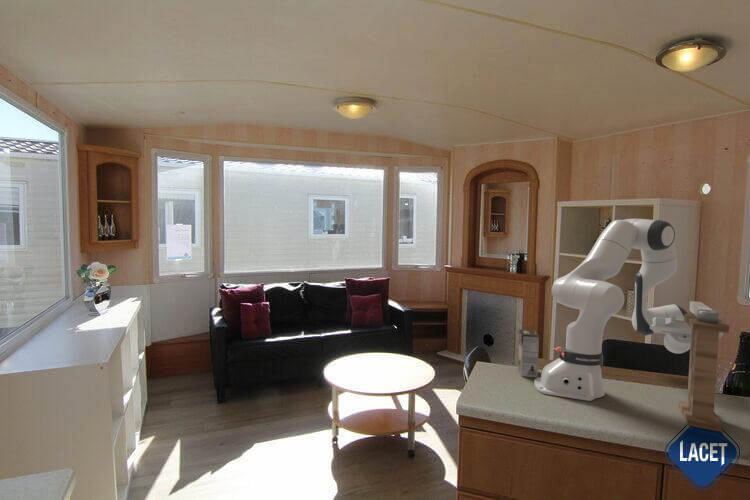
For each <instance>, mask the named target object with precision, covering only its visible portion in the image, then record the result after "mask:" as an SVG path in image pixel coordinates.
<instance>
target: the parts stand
mask: <svg viewBox="0 0 750 500" xmlns="http://www.w3.org/2000/svg"><path fill="white" fill-rule="evenodd" d="M684 320H685V322H686V323H687V324H688V325H689V326H690V327H691V328H692V329H691V346H690V349H689V362H688V363H689V364H688V365H689V366H688V382H687V383H688V384H687V398H686V401H683V400H682V401H681V400H680V401H678V403H679V404H678V408H679V410H680V413H681V415H682V417H683V419H684V421H685V423H686V425H687V427H688V426H689V427H692V428H700V429H705V430H709V431H716V432H719V433H720V432H721V433H723V427H724V426H723V423H722V421H721V420H720V418H719V416H717V414H716V412H715V401H716V384H717V369H718V368H717V367H718V355H719V352H718V351H719V339H720V338H719V332H722V333H724V334H729V332H730V326H729V325H728V324H727V323H726V322H725V321H723V320H722V319H720V318H719V323H704V322H700V321H697V317H696V316H695V315H694V314H693V313H692V314H691V313H688V314H684Z"/></svg>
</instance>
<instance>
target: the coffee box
mask: <svg viewBox="0 0 750 500" xmlns="http://www.w3.org/2000/svg"><path fill="white" fill-rule="evenodd" d="M518 332H519V335H518V361H517V366H518V367H517V368H518V373H519V375H520V377H529V378H530V377H531V378H538V377H539V375H538V374H539V373H538V371H539V352H540V351H539V348H540V345H539V344H540V335H539V333H538V332H537V329H523V328H520V329H519V331H518Z"/></svg>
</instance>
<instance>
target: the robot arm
mask: <svg viewBox="0 0 750 500" xmlns="http://www.w3.org/2000/svg"><path fill="white" fill-rule="evenodd" d="M675 238H676V232H675V228H674V227H673V225H671V223H669V222H668V221H667V220H666V221H665V220H660V219H655V220H654V219H648V218H647V219H646V218H619V219H616V220H615V219H614V220H613V221H611V222H610V223H608V225H607V226H606V227H605V228H604V229H603V231H602V232H601V233H600V235H599V236H598V238H597V240H596V242H595V243H594V244H593V246H592V248H591V250H590V251H589V253H588V254H587V256H586V258H585V259H584V260H583V261H582V262H581V263H580V264H579V265H578V266H577V267H575V268H574V269H573V270H572V271H570V272H569V273H567V274H566V275H564V276H561V277H558V278H557V279H556V280H555V281H554V282H553V284H552V287H551V295H552V298H553V300H554V301H556V302H557V303H559V304H561V305H563V306H565V307H568V308H571V309H576V310H579V313H578V317H577V319H576V320H573V321H572V322H570V323H569V324H568V325H567V326H566V332H565V334H566V337H565V347H564V348H562V347H561V346H557V347H556V348H555V351H556V352H557V353H558V356H559V357H558V358H556V359H555V360H553V361H551V362H549V363H548V364H546V365H545V366H544V367H543V369H542V371H541V375H540V377H539V376H537V377H535V378H534V382H533V384H534V387H535V389H536V390H537V391H538V392H540V393H542V394H545V395H549V396H556V397H563V398H569V399H575V400H581V401H589V402H591V401H593V400H595V399H599V398H602V397H604V396H605V395H606V393H605V390H604V384H603V378H602V369H603V365H604V355H603V352H602V344H603V334H604V330H605V327H606V324H607V322H609V320H610V318H612V317H613V316H614V315H616V314H617V313H619V312H620V311H621V310H622V309H623V306H624V303H625V294H624V291H623V290H622V288H621V287H619V286H618V285H616V284H614V283H611V282H608V281H606V280H608V279H611V278H614V277H616V276H617V275H618V274H619V273H620V272H621V269H622V268H623V266H624V264H625V262H626V261H627V259H628V257H629V255H630V253H631V251H632V249H635V250H640V255H641V266H640V269H639V271H637V273H635V275H634V279H633V292H632V294H633V296H632V297H633V298H632V312H631V324H632V327H633V329H634V331H635V332H637V333H638V334H640V335H642V336H649V335H650V336H651V335H654V334H665V335H664V337H663V345H664V347H665V348H666V349H667V351H669V352H671V353H673V354H684V353H686V352H688V351H690V346H691V329H692V328H691V327H690V326H689V325H688V324H687V323H686V322H685V320H684V314H689V313H688V312H687V310H686V309H684V308H683V307H682V306H680V305H678V304H675V303H674V304H673V303H671V304H667V305H663V306H662V305H661V306H656V307H650V308H648V293H649V292H650V291H651V290H652V289H653V288H654V287H656V286H657V285H660V284H661V283H663V282H665V281H667V280H669V279H670V278H672V276H674V275H675V273H676V272H677V270H678V263H679V262H678V255H677V249H676V246H675V243H674V241H675ZM724 334H725V333H722V332H719V339H721V338H722V337H723V335H724Z"/></svg>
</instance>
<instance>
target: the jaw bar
mask: <svg viewBox="0 0 750 500" xmlns="http://www.w3.org/2000/svg"><path fill="white" fill-rule="evenodd" d="M688 307H689V310H688V311H690V312H691V313H692V314H693V315H695V316H696V317H697V321H700V322H704V323H719V319H720V311H717V310H713V309H712V308H710V307H709V306H707V305H706V304H705V303H703V302H702V301H693V300H690V301H689V306H688Z"/></svg>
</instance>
